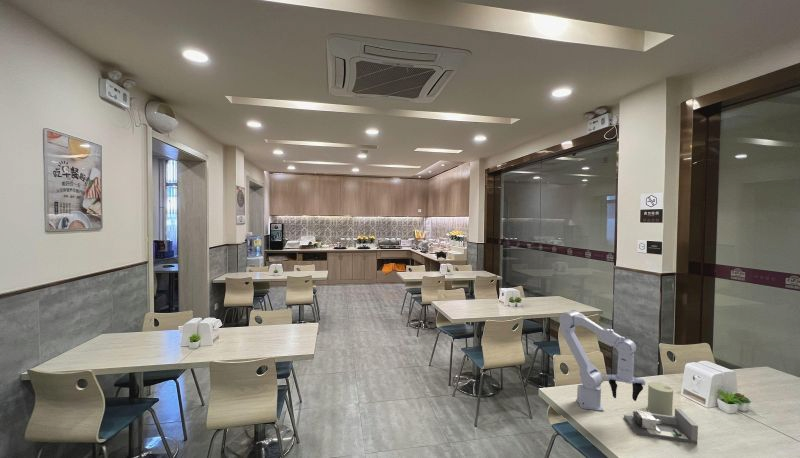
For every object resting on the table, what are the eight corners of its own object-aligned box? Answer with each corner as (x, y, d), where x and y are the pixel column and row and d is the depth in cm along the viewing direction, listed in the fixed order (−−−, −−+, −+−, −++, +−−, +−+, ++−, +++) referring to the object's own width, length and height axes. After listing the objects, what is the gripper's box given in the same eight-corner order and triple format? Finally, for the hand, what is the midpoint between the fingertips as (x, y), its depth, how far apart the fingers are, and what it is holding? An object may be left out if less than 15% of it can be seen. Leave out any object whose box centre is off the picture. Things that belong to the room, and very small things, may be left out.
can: (677, 418, 147) (678, 392, 147) (653, 416, 149) (654, 389, 149) (665, 407, 156) (666, 382, 156) (643, 404, 158) (644, 379, 158)
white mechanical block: (643, 432, 135) (643, 422, 135) (633, 419, 144) (633, 409, 144) (669, 436, 133) (669, 426, 132) (657, 422, 142) (657, 413, 142)
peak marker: (677, 436, 132) (677, 433, 132) (673, 431, 135) (673, 428, 135) (681, 436, 132) (681, 434, 132) (676, 431, 135) (676, 429, 135)
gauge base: (636, 434, 136) (636, 417, 136) (624, 417, 148) (624, 401, 147) (697, 444, 131) (698, 425, 131) (679, 425, 142) (680, 409, 142)
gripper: (609, 369, 144) (608, 400, 144) (649, 374, 140) (647, 406, 140) (604, 362, 150) (603, 392, 151) (641, 367, 147) (640, 397, 147)
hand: (624, 398), depth 146 cm, fingers open, 7 cm apart
